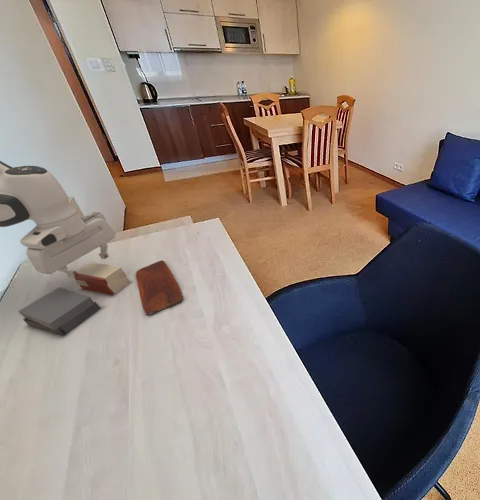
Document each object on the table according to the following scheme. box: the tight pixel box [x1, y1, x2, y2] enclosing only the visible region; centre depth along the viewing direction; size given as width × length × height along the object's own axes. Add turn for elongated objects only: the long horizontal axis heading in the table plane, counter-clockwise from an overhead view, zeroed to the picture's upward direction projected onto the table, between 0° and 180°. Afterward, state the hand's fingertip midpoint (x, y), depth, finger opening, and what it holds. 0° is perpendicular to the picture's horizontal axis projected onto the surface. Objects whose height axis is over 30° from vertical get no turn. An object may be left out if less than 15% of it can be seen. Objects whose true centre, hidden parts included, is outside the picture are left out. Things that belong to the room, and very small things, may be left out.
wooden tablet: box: [135, 260, 184, 316], centre depth 92 cm, size 27×10×2 cm, turn 37°
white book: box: [74, 261, 125, 285], centre depth 91 cm, size 13×6×2 cm, turn 73°
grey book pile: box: [17, 286, 101, 337], centre depth 82 cm, size 15×11×5 cm
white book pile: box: [74, 271, 131, 297], centre depth 93 cm, size 13×7×4 cm, turn 73°
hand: (90, 266), depth 89 cm, fingers open, 8 cm apart
